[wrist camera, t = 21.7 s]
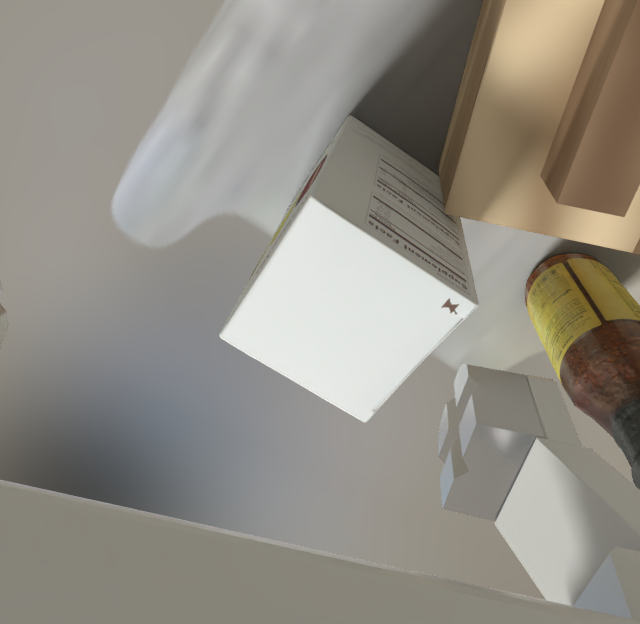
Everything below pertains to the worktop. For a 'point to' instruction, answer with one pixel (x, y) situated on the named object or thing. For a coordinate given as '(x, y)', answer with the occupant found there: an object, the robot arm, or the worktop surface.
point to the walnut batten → (601, 120)
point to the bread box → (468, 92)
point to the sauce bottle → (592, 343)
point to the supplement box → (357, 276)
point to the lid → (531, 127)
